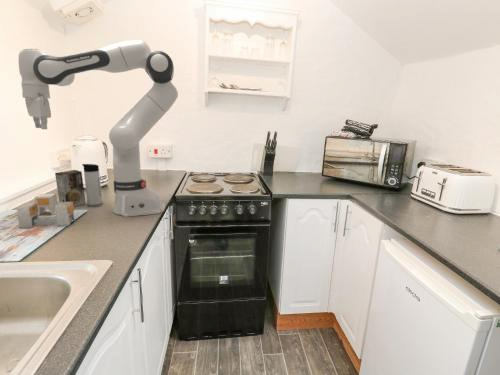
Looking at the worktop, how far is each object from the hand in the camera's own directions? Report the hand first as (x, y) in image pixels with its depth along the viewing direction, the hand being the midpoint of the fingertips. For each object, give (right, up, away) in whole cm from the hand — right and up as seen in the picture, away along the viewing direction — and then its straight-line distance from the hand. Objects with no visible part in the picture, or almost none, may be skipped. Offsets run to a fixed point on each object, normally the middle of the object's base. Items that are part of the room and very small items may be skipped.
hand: (41, 128), depth 121 cm
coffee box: (+1, -33, +20) cm, 38 cm away
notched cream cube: (-3, -35, +8) cm, 36 cm away
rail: (+6, -39, -4) cm, 39 cm away
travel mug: (+11, -33, +20) cm, 40 cm away
